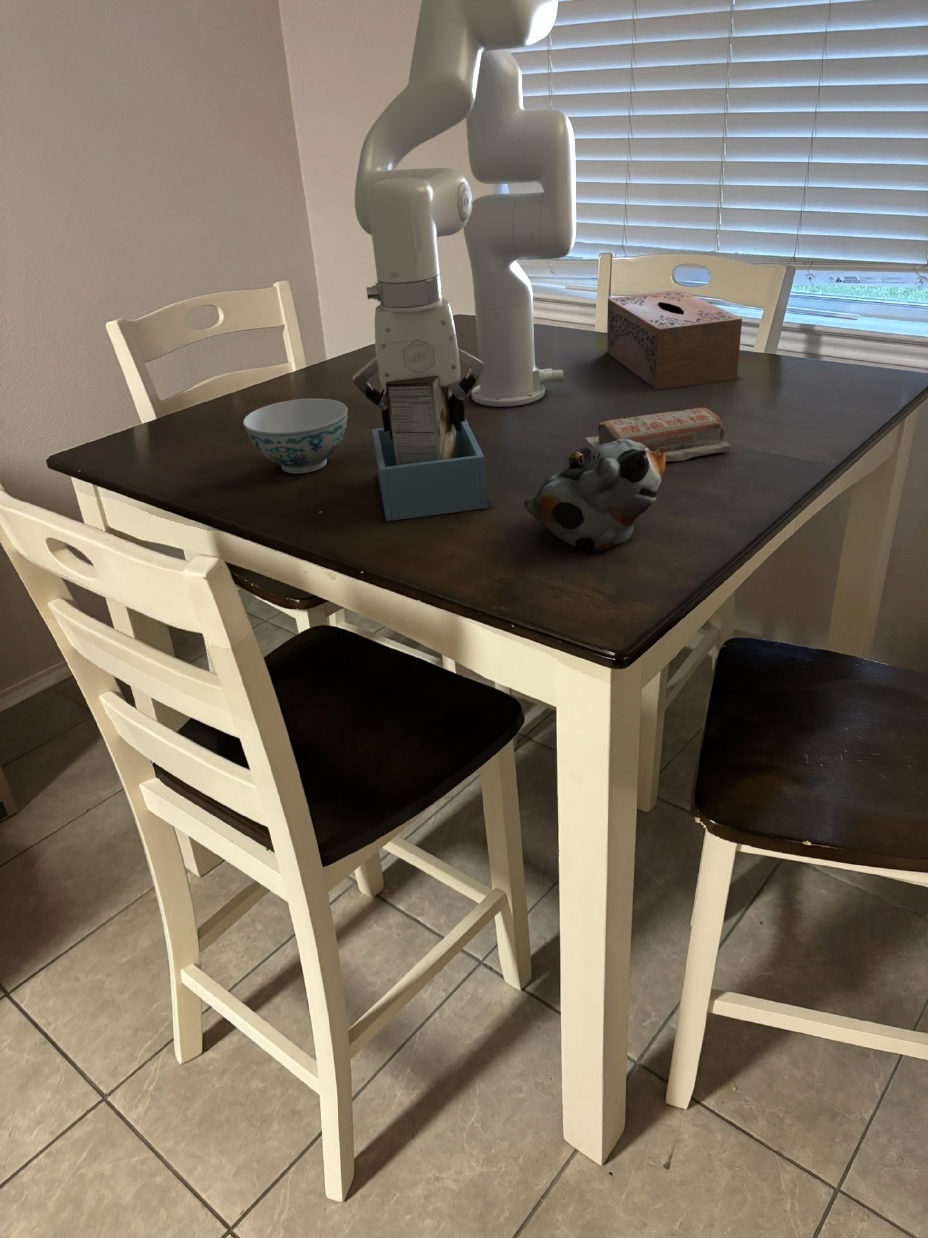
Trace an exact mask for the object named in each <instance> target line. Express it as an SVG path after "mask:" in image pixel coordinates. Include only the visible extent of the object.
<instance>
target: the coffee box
mask: <svg viewBox="0 0 928 1238" xmlns="http://www.w3.org/2000/svg"><path fill="white" fill-rule="evenodd" d="M386 390H387V397H388V405H389V412H390V420H391V428H392V435H393V442H394V450H395V457H396V464H397V465H405V464H413V463H421V462H429V461H437V460H444V459H452V458H458V448H457V438H456V430H455V427H454V425H453V420H452V409H451V398H450V396H452V391H451V390H450V389H449V387H448V386H447V387H441V386H440V379H439V376H429V377H419V378H411V379H404V380H396V381H390V382H387V383H386Z"/></svg>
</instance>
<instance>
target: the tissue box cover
mask: <svg viewBox="0 0 928 1238" xmlns="http://www.w3.org/2000/svg"><path fill="white" fill-rule="evenodd" d="M742 325H743V318H742V317H739V316H737V315H735V314H733V313H731V312H728V311H727V310H725V309H722V308H720V307H718V306H716V305H714V304H712V303H710V302H708V301H706V300H704V299H702V298H699V297H697V296H695V295H693V294H691V293H689V292H687V291H685V290H682V289H676V290H675V289H674V290H666V291H659V292H651V293H641V294H634V295H625V296H617V297H609V298H607V340H606V341H607V343H606V344H607V349H606V350H607V353H608V355H610V356H611V357H613V358H614V359H615V360H617V361H618V362H619V363H621V364H622V365H623V366H625V367H626V368H627V369H629V371H631V372H633V373H634V374H635V375H637V376H638V377H639V378H640V379H642V380H643V381H645V382H646V383H647V384H648V385H650V386H651V387H653V388H654V389H655V390H657V391H658V390H665V389H671V388H679V387H687V386H688V387H689V386H694V385H701V384H703V385H704V384H709V383H716V382H725V381H731V380H732V381H733V380H738V373H739V361H740V348H741V338H742V337H741V336H742Z"/></svg>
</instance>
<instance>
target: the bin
mask: <svg viewBox="0 0 928 1238" xmlns="http://www.w3.org/2000/svg"><path fill="white" fill-rule="evenodd" d="M371 435H372V441H373V450H374V457H375V463H376V473H377V479H378V483H379V490H380V495H381V500H382V506H383V511H384V517H385V521H386V522H392V521H399V520H406V519H407V520H408V519H414V518H421V517H422V518H423V517H429V516H436V515H444V514H451V513H452V514H453V513H458V512H467V511H474V510H476V511H477V510H481V509H483V510H484V509H488V496H487V495H488V494H487V481H486V466H485V465H486V464H485V456H484V454H483V451H482V449H481V448H480V445H479V444H478V441H477V439H476V437H475V435H474V433H473V431H472V429H471V426H470V424H469V423H468V421H467V419H466V417H465V422H461V431H457V430H456V438H457V448H458V458H452V459H444V460H437V461H429V462H421V463H413V464H405V465H397V464H396V457H395V450H394V442H393V439H392V440H391V437H390V433H389V431H388V432H384V427H379V428H372V429H371Z"/></svg>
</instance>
